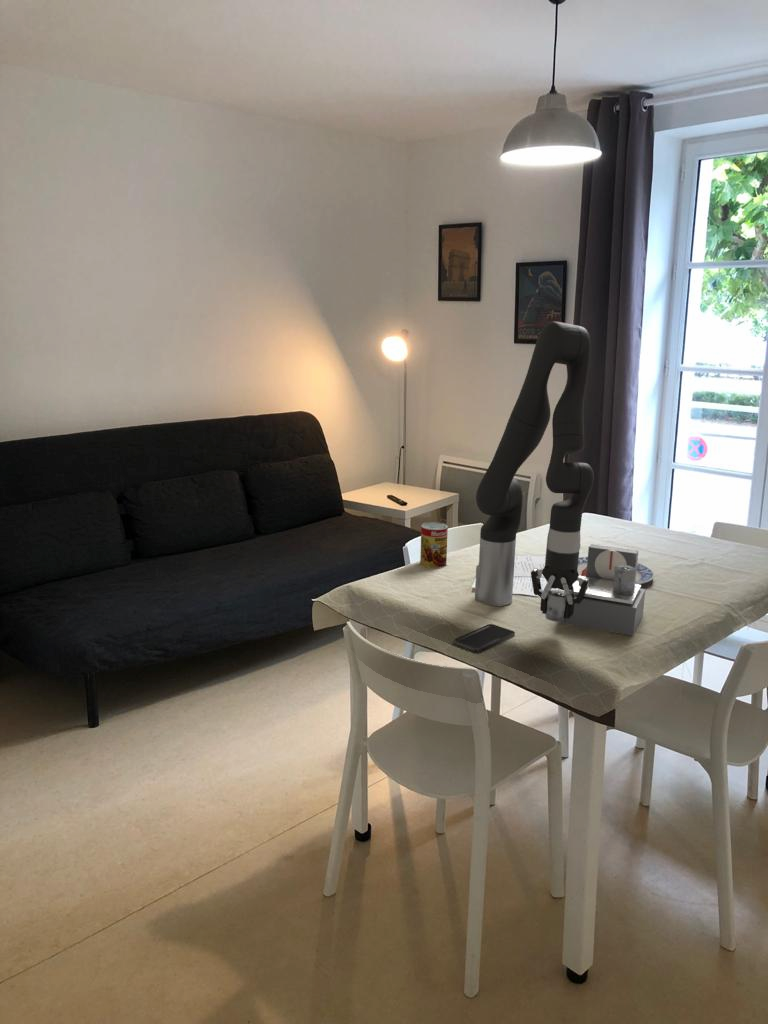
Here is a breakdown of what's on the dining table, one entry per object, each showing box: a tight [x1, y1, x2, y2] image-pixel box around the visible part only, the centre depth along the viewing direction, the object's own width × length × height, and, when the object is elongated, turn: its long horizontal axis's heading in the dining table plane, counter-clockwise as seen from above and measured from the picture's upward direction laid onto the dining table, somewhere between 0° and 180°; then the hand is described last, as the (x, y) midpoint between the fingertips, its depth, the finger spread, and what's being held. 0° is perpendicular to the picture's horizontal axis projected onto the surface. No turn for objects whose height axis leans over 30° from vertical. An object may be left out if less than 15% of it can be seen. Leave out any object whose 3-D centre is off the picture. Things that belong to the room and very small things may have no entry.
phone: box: [453, 623, 516, 653], centre depth 194 cm, size 8×1×15 cm
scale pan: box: [573, 576, 642, 604], centre depth 206 cm, size 16×13×1 cm
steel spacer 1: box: [544, 589, 568, 623], centre depth 196 cm, size 5×5×6 cm
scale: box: [558, 543, 646, 636], centre depth 207 cm, size 18×18×16 cm
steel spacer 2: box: [613, 565, 636, 595], centre depth 202 cm, size 5×5×6 cm
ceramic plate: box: [577, 556, 655, 585], centre depth 240 cm, size 26×26×3 cm
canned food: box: [419, 522, 449, 569], centre depth 247 cm, size 8×8×12 cm
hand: (556, 614), depth 196 cm, fingers closed on steel spacer 1, 5 cm apart
